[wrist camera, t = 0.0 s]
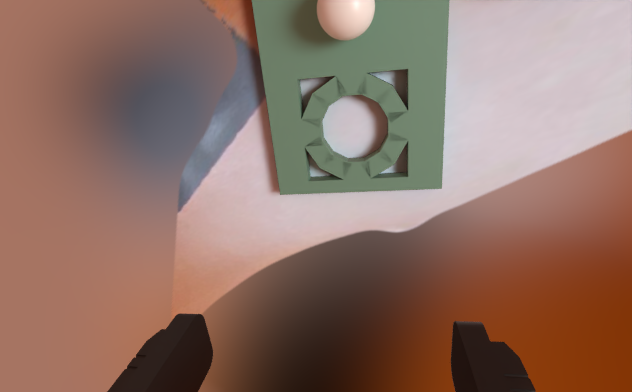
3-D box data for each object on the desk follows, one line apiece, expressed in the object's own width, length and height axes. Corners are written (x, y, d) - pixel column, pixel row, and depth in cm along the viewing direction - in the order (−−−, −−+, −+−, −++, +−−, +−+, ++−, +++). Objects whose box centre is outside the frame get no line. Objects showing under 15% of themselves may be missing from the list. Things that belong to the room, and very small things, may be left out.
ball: (318, -16, 31) (309, -27, 27) (373, -24, 31) (374, -37, 26) (323, 44, 33) (315, 42, 29) (375, 38, 32) (376, 35, 28)
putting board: (245, -71, 32) (240, -77, 31) (449, -107, 29) (453, -116, 27) (283, 189, 42) (280, 194, 40) (439, 183, 38) (441, 188, 37)
